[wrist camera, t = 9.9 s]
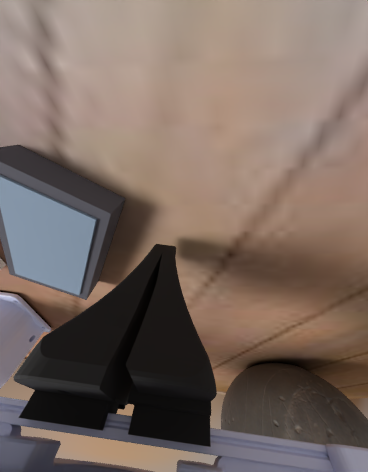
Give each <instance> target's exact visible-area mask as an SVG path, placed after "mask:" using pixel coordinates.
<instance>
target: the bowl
mask: <svg viewBox="0 0 368 472" xmlns="http://www.w3.org/2000/svg"><path fill="white" fill-rule="evenodd" d="M221 430H227V431H234V432H241V433H247V434H254V435H261V436H268V437H274V438H281V439H288V440H294V441H301V442H308V443H315V444H321V445H326V444H339V445H347V446H354V447H361V448H367V449H368V420H367V418H366V417H365V416H364V415H363V414H362V412H360V410H359V409H358V408H357V407H356V406H355V405H354V404H353V403H352V402H351V401H350V400H349V399H348V398H347V397H346V396H345V395H344V394H343V393H342V392H341V391H339V390H338V389H337V388H335V387H334V386H333V385H331V384H330V383H328V382H327V381H325V380H324V379H322V378H320V377H318V376H317V375H315V374H313V373H311V372H309V371H307V370H305V369H302V368H300V367H298V366H294V365H290V364H282V363H266V364H259V365H255V366H253V367H250V368H248V369H246V370H244V371H243V372H241V373H240V374H239V375H238V376H237V377H236V378H235V379H234V381H233V382H232V383H231V385H230V387H229V388H228V390H227V392H226V395H225V398H224V401H223V406H222V414H221Z"/></svg>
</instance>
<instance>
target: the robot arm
mask: <svg viewBox="0 0 368 472" xmlns="http://www.w3.org/2000/svg"><path fill="white" fill-rule="evenodd" d="M175 255H176V247H175V246H168V245H160V244H156V245H155V246H154V247H153V248H152V250H151V251H150V252H149V254H148V255H147V256H146V257H145V258H144V260H143V261H142V262H141V263H140V264H139V265H138V266H137V267H136V268H135V269H134V270H133V271H132V272H131V273H130V274H129V275H128V276H127V277H126V278H125V279H124V280H123V281H122V282H121V283H120V284H119V285H118V286H116V287H115V288H114V289H113V290H112V291H111V292H109V293H108V294H107V295H106V296H104V297H103V298H102V299H100V300H99V301H98V302H96V303H95V304H94V305H92V306H91V307H89V308H88V309H86V310H85V311H84V312H82V313H81V314H79V315H78V316H76V317H75V318H73V319H72V320H70V321H68V322H67V323H65V324H64V325H62V326H60V327H59V328H57V329H55V330H54V331H52V332H51V333H49V334H47V335H46V336H44V337H43V338H42V339H41V341H40V342H39V343H38V344H37V345H36V347H35V348H34V349H33V351H32V352H31V353H30V355H29V356H28V358H27V359H26V360H25V362H24V363H23V365H22V366H21V367H20V369H19V370H18V371H17V373H16V374H15V376H14V380H15V381H16V382H17V383H20V384H22V385H25V386H27V387H29V388H32V389H34V390H35V392H34V393H33V395H32V396H31V398H30V400H29V401H25V400H19V399H12V398H5V397H0V472H153V471H148V470H142V469H138V468H132V467H126V466H119V465H112V464H105V463H97V462H88V461H79V460H70V459H62V458H55V456H56V453H57V451H58V449H59V446H60V441H56V440H52V439H47V438H40V437H28V436H21V426H27V427H33V428H40V429H46V430H53V431H59V432H66V433H72V434H78V435H85V436H92V437H98V438H105V439H111V440H118V441H124V442H131V443H137V444H144V445H151V446H157V447H164V448H170V449H177V450H183V451H190V452H196V453H203V454H210V455H216V456H218V457H217V458H216V459H215V462H214V465H210V464H206V463H201V462H194V461H184V460H179V461H178V462H177V472H368V449H367V448H361V447H354V446H347V445H339V444H326V445H321V444H315V443H308V442H301V441H294V440H288V439H281V438H274V437H268V436H261V435H254V434H247V433H241V432H234V431H227V430H221V429H214V428H210V416H211V401H212V400H213V399H214V398H215V396H216V394H217V393H216V384H215V379H214V375H213V371H212V367H211V364H210V360H209V357H208V355H207V353H206V351H205V349H204V347H203V345H202V342H201V340H200V338H199V336H198V334H197V331H196V329H195V327H194V324H193V322H192V319H191V317H190V314H189V312H188V309H187V306H186V303H185V300H184V297H183V294H182V291H181V287H180V283H179V279H178V274H177V268H176V260H175ZM51 330H52V329H51V327H50V326H49V325H48V324H47V323H46V322H45V321H44V320H43V319H42V318H41V317H40V316H39V315H38V314H37V313H36V312H35V311H34V310H33V309H32V308H31V307H30V306H29V305H28V304H27V303H26V302H25V301H24V300H23V299H22V298H21V297H20V296H19V295H17V294H12V293H4V292H0V388H1V387H2V386H3V385H4V384H5V383H6V382H7V381H8V380H9V378H10V377H11V375H12V374H13V373H14V371H15V370H16V369H17V367H18V366H19V365H20V363H21V362H22V361H23V359H24V358H25V357H26V355H27V354H28V352H29V351H30V350H31V348H32V347H33V346H34V344H35V343H36V342H37V340H38V339H39V337H40V336H41V335H42V333H43V332H50V331H51ZM127 404H133V405H134V410H133V414H132V416H126V415H120V414H116V413H117V410H118V409H124V408H125V405H127Z"/></svg>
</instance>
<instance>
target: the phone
mask: <svg viewBox="0 0 368 472" xmlns="http://www.w3.org/2000/svg"><path fill="white" fill-rule="evenodd" d="M124 202H125V198H123V197H121V196H119V195H117V194H115V193H113V192H111V191H109V190H107V189H105V188H104V187H102V186H100V185H98V184H96V183H94V182H92V181H90V180H88V179H86V178H84V177H82V176H80V175H78V174H76V173H74V172H72V171H70V170H68V169H66V168H64V167H62V166H60V165H58V164H56V163H54V162H52V161H50V160H48V159H46V158H44V157H42V156H40V155H38V154H36V153H34V152H32V151H30V150H28V149H26V148H24V147H22V146H20V145H14V146H7V147H0V239H1V243H2V247H3V250H4V254H5V258H6V262H7V265H8V269H9V273H10V274H11V275H14V276H17V277H19V278H22V279H25V280H28V281H31V282H34V283H37V284H40V285H43V286H46V287H49V288H52V289H55V290H58V291H61V292H64V293H67V294H70V295H73V296H76V297H79V298H82V299H85V300H87V298H88V297H89V295H90V293H91V292H92V290H93V289H94V287H95V286H96V284H97V282H98V281H99V278H100V274H101V271H102V268H103V265H104V262H105V259H106V256H107V253H108V250H109V247H110V244H111V241H112V238H113V235H114V232H115V229H116V226H117V223H118V220H119V217H120V214H121V211H122V208H123V205H124Z"/></svg>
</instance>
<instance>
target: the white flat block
mask: <svg viewBox="0 0 368 472" xmlns="http://www.w3.org/2000/svg"><path fill="white" fill-rule="evenodd" d="M4 266H6V264H5V262H4V261H3V260H2V259H1V258H0V269H2V268H3V267H4Z"/></svg>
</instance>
